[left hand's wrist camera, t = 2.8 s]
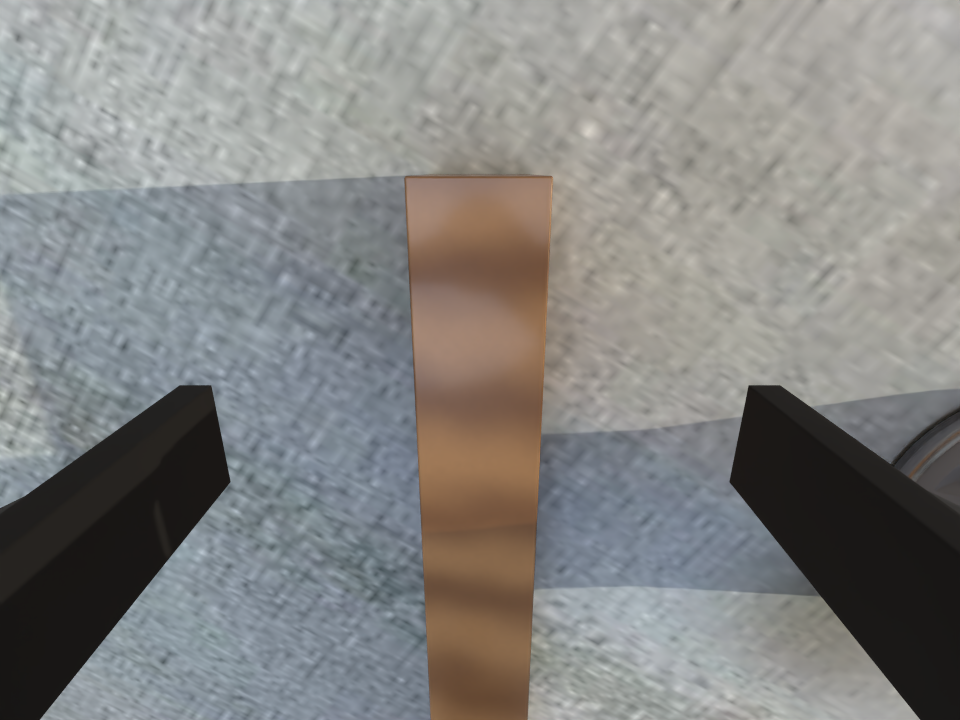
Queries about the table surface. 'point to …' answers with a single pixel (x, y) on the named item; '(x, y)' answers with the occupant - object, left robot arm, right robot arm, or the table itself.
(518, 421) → the post
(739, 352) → the table surface
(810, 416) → the left robot arm
